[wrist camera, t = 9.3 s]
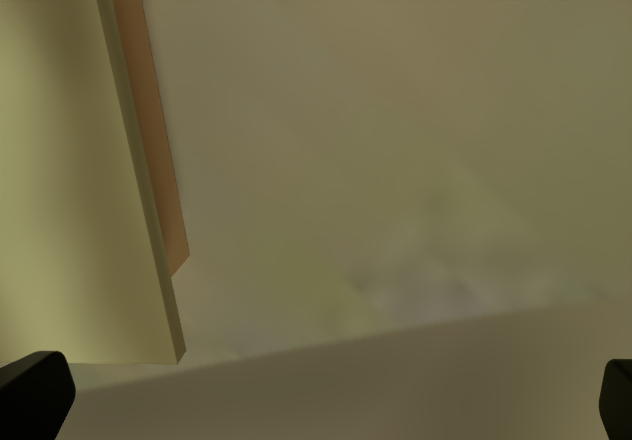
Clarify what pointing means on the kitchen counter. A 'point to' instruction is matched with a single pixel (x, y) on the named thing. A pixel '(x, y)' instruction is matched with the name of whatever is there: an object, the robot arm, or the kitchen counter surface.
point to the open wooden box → (152, 128)
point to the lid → (77, 195)
